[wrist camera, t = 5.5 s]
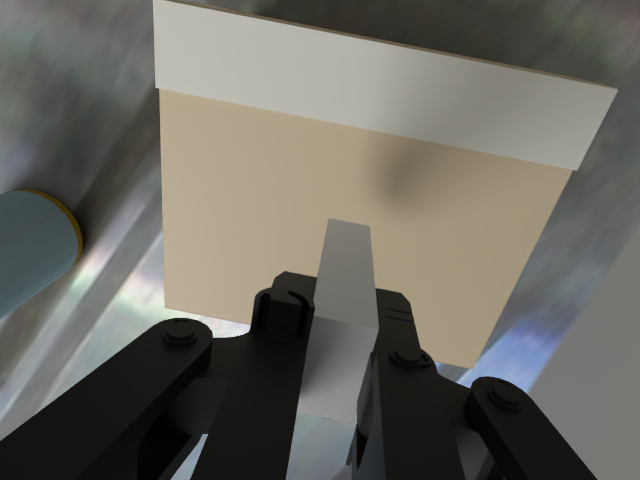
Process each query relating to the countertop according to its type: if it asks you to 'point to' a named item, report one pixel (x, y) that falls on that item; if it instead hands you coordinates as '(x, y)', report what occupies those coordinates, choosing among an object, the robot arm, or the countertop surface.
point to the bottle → (34, 245)
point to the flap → (356, 165)
